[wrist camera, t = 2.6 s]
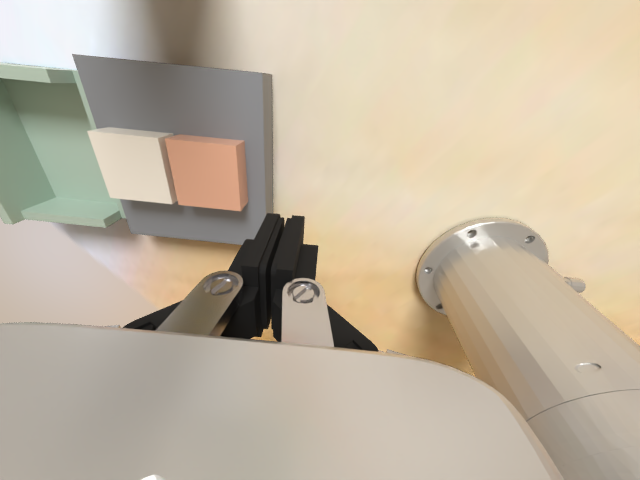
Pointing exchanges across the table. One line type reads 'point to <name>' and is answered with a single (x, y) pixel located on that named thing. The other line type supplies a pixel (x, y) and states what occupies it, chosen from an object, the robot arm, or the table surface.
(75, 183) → the bin
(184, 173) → the terracotta tile
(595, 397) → the robot arm
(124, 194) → the cream tile
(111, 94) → the slate board
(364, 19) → the table surface
